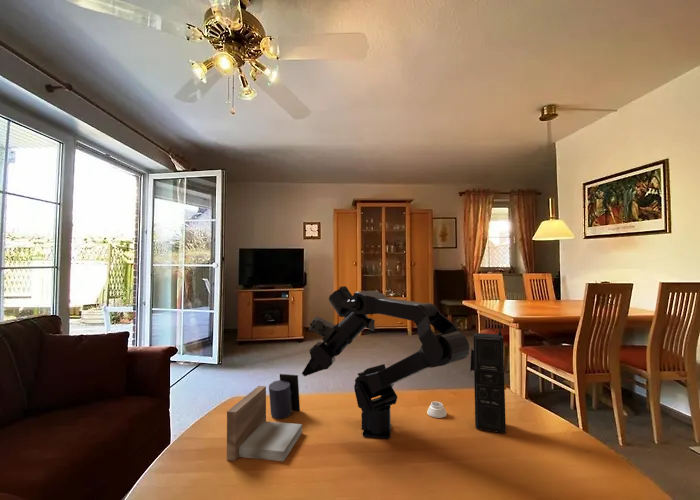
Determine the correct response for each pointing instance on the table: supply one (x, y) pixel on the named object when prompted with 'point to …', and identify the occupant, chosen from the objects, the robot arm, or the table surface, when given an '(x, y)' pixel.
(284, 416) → the dark grey mug
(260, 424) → the wall board
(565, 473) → the table surface
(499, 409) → the portable radio
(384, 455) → the table surface
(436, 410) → the lidless jar
